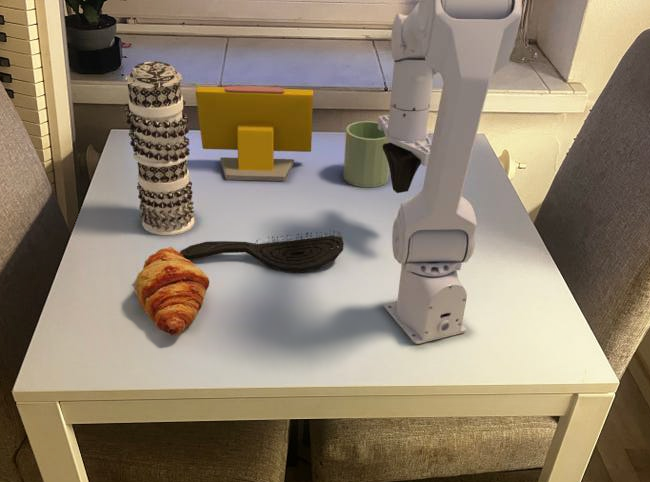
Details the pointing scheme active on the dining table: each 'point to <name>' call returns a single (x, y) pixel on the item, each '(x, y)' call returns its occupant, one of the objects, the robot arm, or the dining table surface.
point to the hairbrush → (277, 252)
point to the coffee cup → (365, 155)
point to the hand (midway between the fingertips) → (400, 190)
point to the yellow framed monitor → (255, 128)
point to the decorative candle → (160, 147)
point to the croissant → (171, 290)
